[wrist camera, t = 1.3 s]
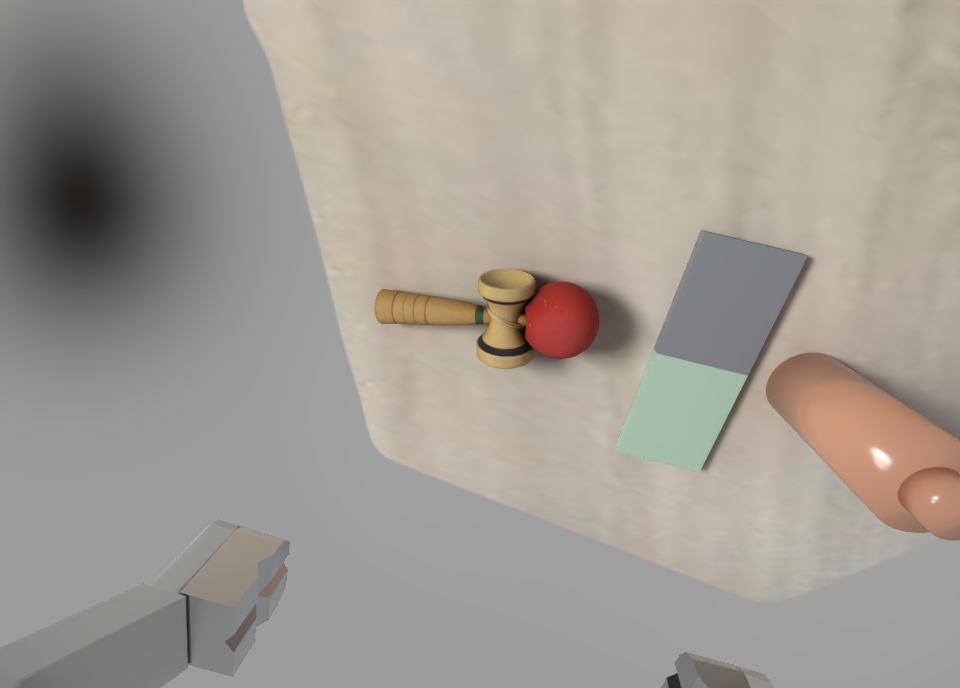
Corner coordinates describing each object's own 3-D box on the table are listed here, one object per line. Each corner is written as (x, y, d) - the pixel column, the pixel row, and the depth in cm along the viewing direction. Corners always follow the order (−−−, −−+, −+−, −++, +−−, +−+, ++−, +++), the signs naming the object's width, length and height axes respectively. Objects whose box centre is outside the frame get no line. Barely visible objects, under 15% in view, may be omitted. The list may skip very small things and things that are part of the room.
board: (701, 230, 34) (705, 231, 33) (800, 253, 33) (808, 255, 32) (615, 445, 41) (617, 451, 40) (695, 466, 41) (699, 472, 40)
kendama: (399, 345, 42) (594, 365, 38) (365, 359, 36) (592, 385, 32) (400, 262, 41) (604, 273, 36) (364, 262, 35) (603, 275, 30)
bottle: (786, 344, 36) (937, 455, 22) (861, 363, 36) (1062, 486, 22) (753, 407, 38) (871, 543, 24) (824, 425, 38) (983, 572, 24)
